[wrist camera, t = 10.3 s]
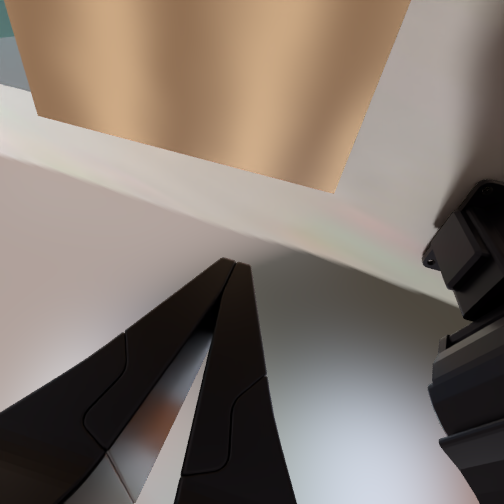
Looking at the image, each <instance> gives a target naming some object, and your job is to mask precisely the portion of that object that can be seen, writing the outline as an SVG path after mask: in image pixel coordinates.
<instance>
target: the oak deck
mask: <svg viewBox="0 0 504 504" xmlns="http://www.w3.org/2000/svg"><path fill="white" fill-rule="evenodd" d="M410 1H411V0H4V3H5V6H6V9H7V13H8V16H9V19H10V23H11V26H12V29H13V33H14V36H15V40H16V43H17V46H18V50H19V53H20V56H21V60H22V63H23V67H24V70H25V73H26V77H27V80H28V83H29V87H30V90H31V94H32V97H33V100H34V104H35V107H36V110H37V114H38V116H41V117H45V118H49V119H53V120H56V121H60V122H64V123H68V124H72V125H75V126H79V127H83V128H87V129H91V130H94V131H98V132H102V133H106V134H109V135H113V136H117V137H121V138H125V139H128V140H132V141H136V142H140V143H144V144H147V145H151V146H155V147H159V148H163V149H166V150H170V151H174V152H178V153H181V154H185V155H189V156H193V157H197V158H200V159H204V160H208V161H212V162H216V163H219V164H223V165H227V166H231V167H235V168H238V169H242V170H246V171H250V172H253V173H257V174H261V175H265V176H269V177H272V178H276V179H280V180H284V181H288V182H291V183H295V184H299V185H303V186H307V187H310V188H314V189H318V190H322V191H325V192H329V193H333V194H334V192H335V190H336V187H337V185H338V182H339V180H340V177H341V175H342V172H343V170H344V167H345V165H346V162H347V160H348V157H349V154H350V152H351V149H352V147H353V144H354V142H355V139H356V137H357V134H358V132H359V129H360V127H361V124H362V122H363V119H364V117H365V114H366V112H367V109H368V107H369V104H370V102H371V99H372V97H373V94H374V92H375V89H376V87H377V84H378V82H379V79H380V77H381V74H382V72H383V69H384V67H385V64H386V62H387V59H388V57H389V54H390V52H391V49H392V47H393V44H394V42H395V39H396V37H397V34H398V32H399V29H400V26H401V24H402V21H403V19H404V16H405V14H406V11H407V9H408V6H409V4H410Z"/></svg>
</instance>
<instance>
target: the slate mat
mask: <svg viewBox="0 0 504 504" xmlns="http://www.w3.org/2000/svg"><path fill="white" fill-rule="evenodd" d="M0 84H3V85H7V86H11V87H15V88H18V89H22V90H26V91H30V92H31V90H30V87H29V83H28V80H27V77H26V73H25V70H24V67H23V63H22V60H21V56H20V53H19V50H18V46H17V43H16V40H15V36H13V37H4V38H0Z"/></svg>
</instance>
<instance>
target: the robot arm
mask: <svg viewBox="0 0 504 504" xmlns="http://www.w3.org/2000/svg"><path fill="white" fill-rule="evenodd" d="M486 187H490V189H489V190H487V191H485V192H482V190H483V189H484V188H486ZM431 259H433V261H428V260H431ZM422 262H423V265H424V266H425V267H427V268H431V269H434V270H438V271H441V273H442V276H443V279H444V282H445V284H446V287H447V288H448V289H449V290H453V292H454V295H455V297H456V300H457V302H458V305H459V308H460V310H461V313H462V316H463V318H464V319H466V320H469V321H473V322H472V323H471V324H469V325H467V326H466V327H464V328H463V329H461V330H459V331H457V332H456V333H454V334H452V335H447V336H445V337H443V338H442V339H440V341H439V350H438V356H437V358H436V360H435V361H434V363H433V374H432V381H433V383H432V384H430V385H429V386H428V393H429V397H430V400H431V403H432V407H433V410H434V412H435V414H436V416H437V419H438V421H439V423H440V425H441V427H442V428H443V430H444V432H445V434H446V435H447V437H444V438H441V439H439V444H440V446H441V448H442V449H443V450H444V452H445V453H446V454H447V455H448V456H449V458H450V459H451V460H452V461H453V463H454V464H455V465H456V466H457V467H458V469H459V470H460V471H461V473H462V474H463V476H464V478H465V479H466V481H467V482H468V484H469V486H470V487H471V489H472V490H473V492H474V493H475V495H476V497H477V499H478V501H479V503H480V504H504V183H503V182H499V181H495V180H490V179H486V180H482V181H480V182H479V183H478V184H477V185H476V186H475V187H474V188H473V190H472V191H471V192H470V194H469V195H468V196H467V198H466V199H465V200H464V202H463V203H462V204H461V206H460V207H459V208H458V210H456V211H454V212H453V213H452V214H451V215H450V217H449V218H448V220H447V221H446V222H445V224H444V225H443V226H442V228H441V229H440V230H439V232H438V233H437V234H436V236H435V237H434V239H433V240H432V241H431V246H430V247H429V249H428V250H427V251H426V253H425V254H424V255H423V257H422ZM208 350H209V353H208V357H207V362H206V366H205V370H204V374H203V379H202V383H201V388H200V392H199V396H198V401H197V405H196V410H195V414H194V418H193V423H192V427H191V431H190V436H189V440H188V444H187V449H186V453H185V457H184V462H183V466H182V470H181V478H180V480H179V484H178V488H177V493H176V496H175V500H174V504H297V503H296V499H295V495H294V491H293V487H292V484H291V480H290V476H289V473H288V469H287V465H286V462H285V458H284V454H283V451H282V447H281V443H280V439H279V435H278V431H277V426H276V422H275V418H274V413H273V407H272V402H271V396H270V390H269V383H268V377H267V376H266V375H267V371H266V364H265V357H264V350H263V343H262V336H261V329H260V323H259V316H258V310H257V302H256V295H255V288H254V282H253V275H252V268H251V266H250V265H249V264H246V263H242V262H237V263H236V262H235V260H231V259H228V258H224V257H223V258H220V259H219V260H218V261H216V262H215V263H214V264H212V265H211V266H210V267H208V268H207V269H206V270H204V271H203V272H202V273H200V274H199V275H198V276H196V277H195V278H194V279H193V280H191V281H190V282H189V283H187V284H186V285H185V286H183V287H182V288H181V289H179V290H178V291H177V292H175V293H174V294H173V295H172V296H170V297H169V298H167V299H166V300H165V301H163V302H162V303H161V304H159V305H158V306H157V307H155V308H154V309H153V310H151V311H150V312H149V313H147V314H146V315H145V316H144V317H142V318H141V319H140V320H138V321H137V322H136V323H134V324H133V325H132V326H130V327H129V328H128V329H126V330H125V333H121V334H120V335H118V336H117V337H115V338H114V339H113V340H112V341H110V342H109V343H108V344H106V345H105V346H103V347H102V348H101V349H99V350H98V351H96V352H95V353H94V354H92V355H91V356H89V357H88V358H86V359H85V360H84V361H82V362H80V363H79V364H77V365H76V366H74V367H72V368H71V369H69V370H68V371H66V372H65V373H63V374H62V375H60V376H58V377H57V378H55V379H54V380H52V381H51V382H49V383H47V384H45V385H44V386H42V387H41V388H39V389H37V390H36V391H34V392H32V393H31V394H29V395H28V396H26V397H25V398H23V399H21V400H20V401H18V402H17V403H15V404H13V405H11V406H10V407H8V408H7V409H5V410H3V411H2V412H0V504H134V503H135V502H136V500H137V498H138V496H139V494H140V492H141V490H142V488H143V486H144V484H145V481H146V480H147V478H148V475H149V473H150V471H151V469H152V467H153V465H154V463H155V461H156V459H157V457H158V454H159V452H160V450H161V448H162V446H163V444H164V442H165V440H166V438H167V436H168V434H169V431H170V429H171V427H172V425H173V423H174V421H175V419H176V417H177V415H178V412H179V410H180V408H181V406H182V404H183V402H184V400H185V398H186V396H187V394H188V392H189V390H190V387H191V385H192V383H193V381H194V379H195V377H196V375H197V373H198V371H199V369H200V367H201V364H202V362H203V360H204V358H205V356H206V354H207V352H208Z"/></svg>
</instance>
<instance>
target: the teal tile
mask: <svg viewBox="0 0 504 504" xmlns="http://www.w3.org/2000/svg"><path fill="white" fill-rule="evenodd" d="M13 36H14V33H13V29H12V26H11V23H10V19H9V16H8V13H7V9H6V6H5V3H4V0H0V38H4V37H13Z"/></svg>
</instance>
